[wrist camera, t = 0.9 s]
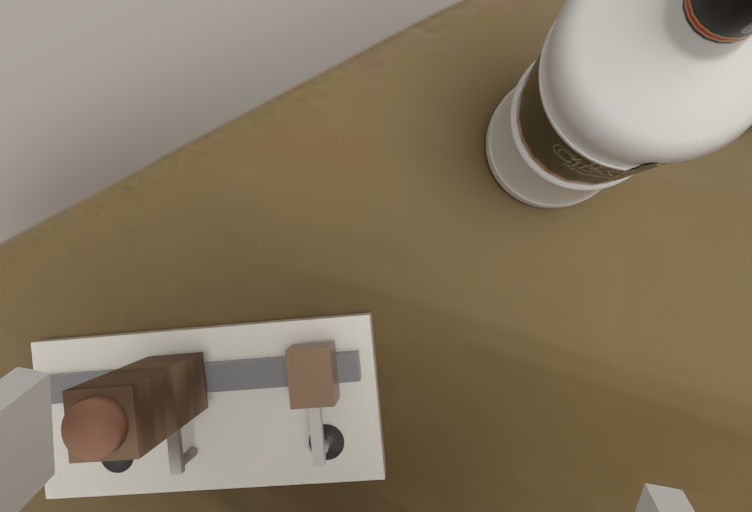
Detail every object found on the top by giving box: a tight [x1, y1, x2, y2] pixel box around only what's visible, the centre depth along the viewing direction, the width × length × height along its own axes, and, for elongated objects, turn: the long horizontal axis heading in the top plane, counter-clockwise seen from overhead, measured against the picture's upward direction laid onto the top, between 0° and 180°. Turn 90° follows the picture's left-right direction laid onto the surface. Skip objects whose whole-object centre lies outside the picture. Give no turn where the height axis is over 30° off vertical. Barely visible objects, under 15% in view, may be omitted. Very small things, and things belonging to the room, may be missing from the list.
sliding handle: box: [61, 352, 208, 475], centre depth 36 cm, size 8×4×12 cm, turn 5°
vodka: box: [486, 0, 752, 209], centre depth 27 cm, size 9×9×30 cm
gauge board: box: [31, 312, 386, 499], centre depth 42 cm, size 12×26×5 cm, turn 95°
